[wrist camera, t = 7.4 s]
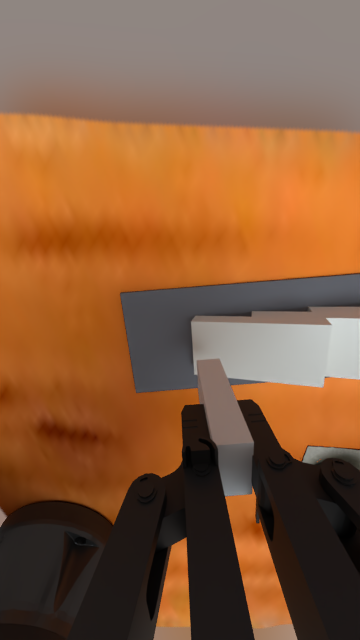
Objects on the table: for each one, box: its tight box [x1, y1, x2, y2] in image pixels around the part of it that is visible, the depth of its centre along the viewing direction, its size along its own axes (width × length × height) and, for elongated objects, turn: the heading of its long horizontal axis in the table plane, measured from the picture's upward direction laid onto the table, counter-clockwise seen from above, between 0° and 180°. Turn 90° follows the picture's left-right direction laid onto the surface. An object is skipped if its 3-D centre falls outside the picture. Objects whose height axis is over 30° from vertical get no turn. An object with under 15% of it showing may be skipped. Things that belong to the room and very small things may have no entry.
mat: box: [120, 274, 360, 393], centre depth 21 cm, size 32×10×1 cm, turn 94°
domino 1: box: [191, 316, 332, 387], centre depth 18 cm, size 2×5×10 cm
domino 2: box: [252, 311, 360, 379], centre depth 18 cm, size 2×5×10 cm
